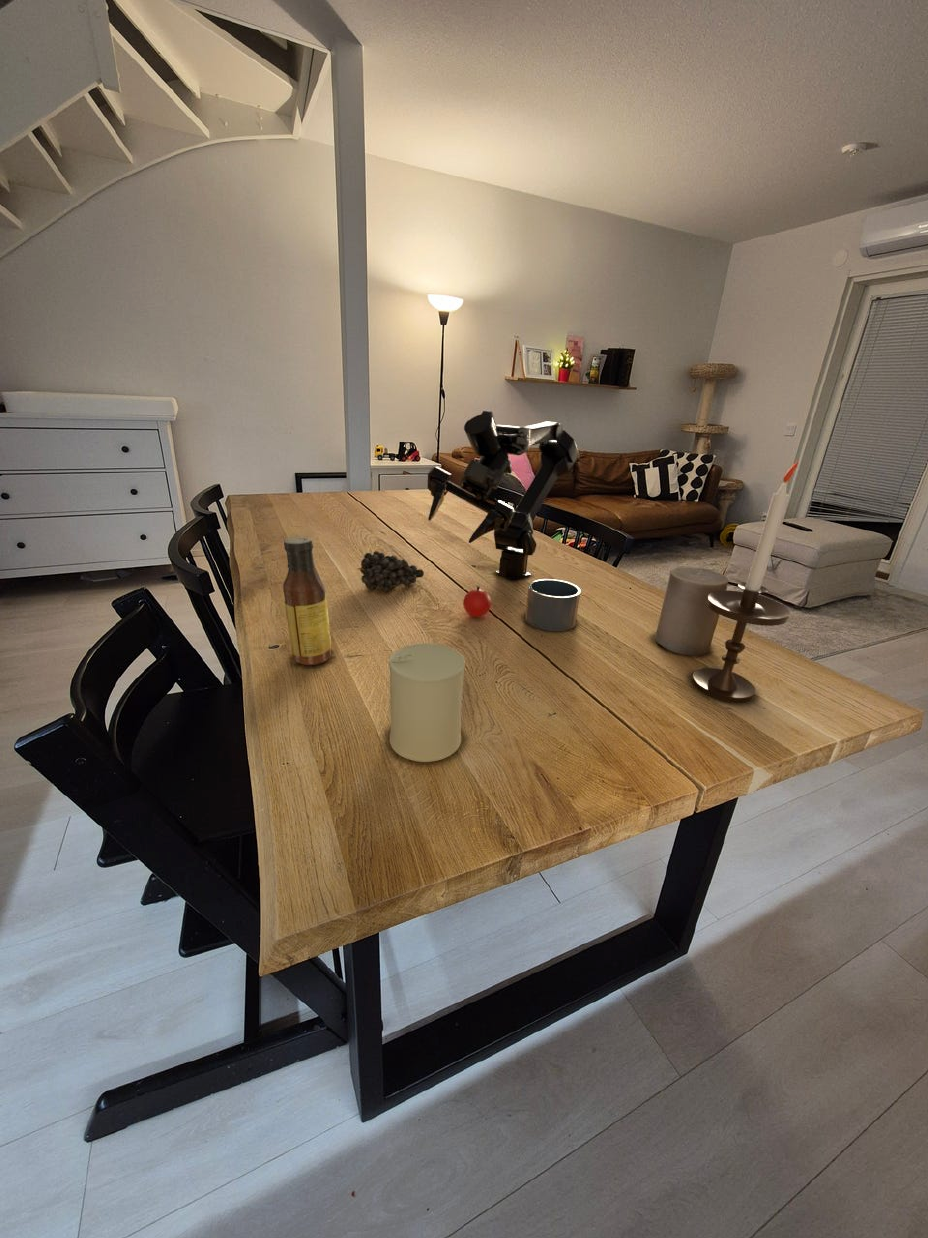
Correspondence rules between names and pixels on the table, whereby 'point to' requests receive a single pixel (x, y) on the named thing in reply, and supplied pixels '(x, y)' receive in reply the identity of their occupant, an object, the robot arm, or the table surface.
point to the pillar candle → (689, 610)
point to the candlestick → (746, 611)
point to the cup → (552, 604)
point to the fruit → (387, 571)
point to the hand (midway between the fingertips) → (449, 530)
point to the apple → (477, 602)
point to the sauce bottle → (306, 605)
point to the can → (426, 701)
